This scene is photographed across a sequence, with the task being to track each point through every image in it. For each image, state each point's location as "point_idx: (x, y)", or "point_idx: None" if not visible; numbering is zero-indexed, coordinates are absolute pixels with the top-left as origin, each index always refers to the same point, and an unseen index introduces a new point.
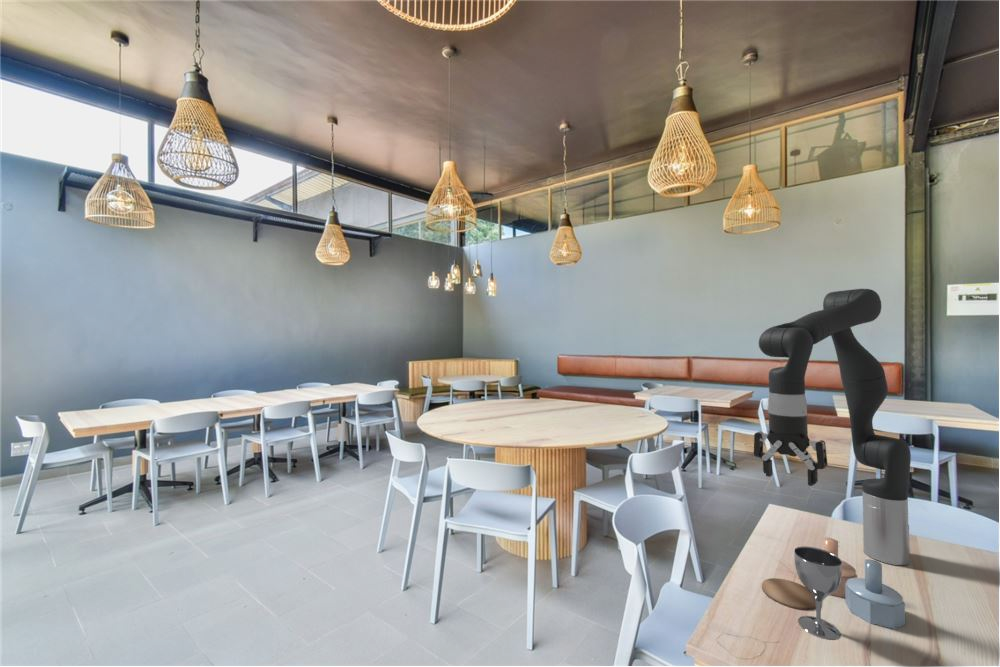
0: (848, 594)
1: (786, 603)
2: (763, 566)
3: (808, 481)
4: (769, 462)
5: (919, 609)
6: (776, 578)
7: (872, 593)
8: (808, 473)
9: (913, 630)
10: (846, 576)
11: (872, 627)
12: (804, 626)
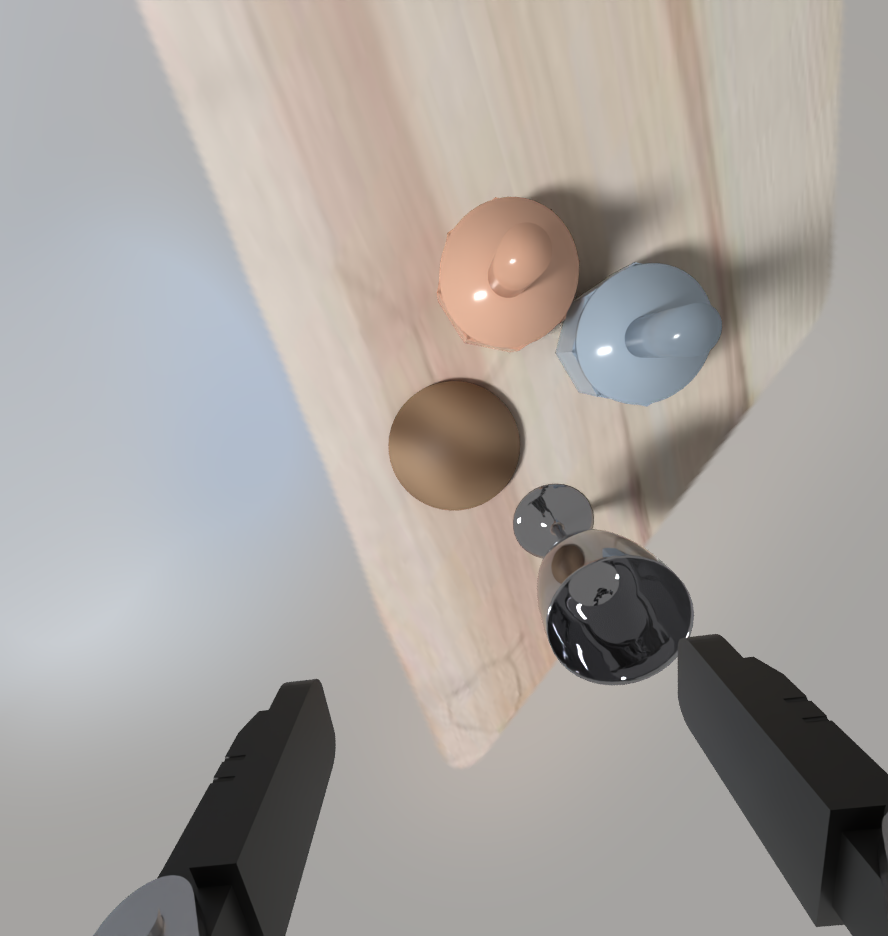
0: (580, 377)
1: (475, 506)
2: (335, 358)
3: (710, 752)
4: (273, 924)
5: (691, 196)
6: (400, 409)
7: (647, 363)
8: (781, 853)
9: None
10: (565, 313)
11: (628, 414)
12: (535, 550)
